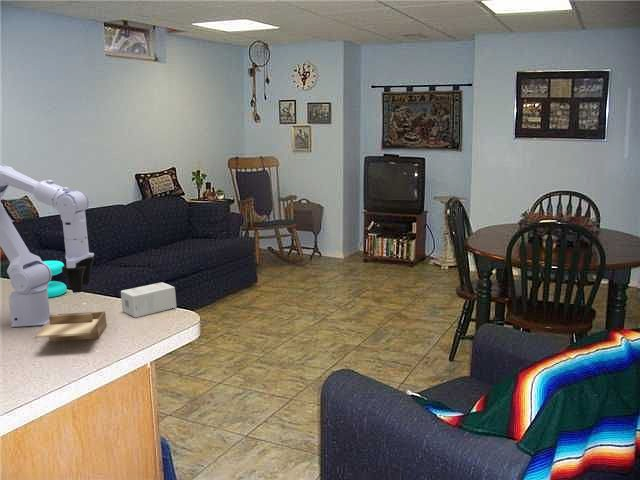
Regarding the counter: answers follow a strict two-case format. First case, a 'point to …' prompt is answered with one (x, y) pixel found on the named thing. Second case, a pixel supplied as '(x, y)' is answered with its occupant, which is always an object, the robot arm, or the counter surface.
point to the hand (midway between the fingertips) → (81, 288)
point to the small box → (148, 299)
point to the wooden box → (93, 335)
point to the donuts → (55, 286)
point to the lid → (68, 325)
